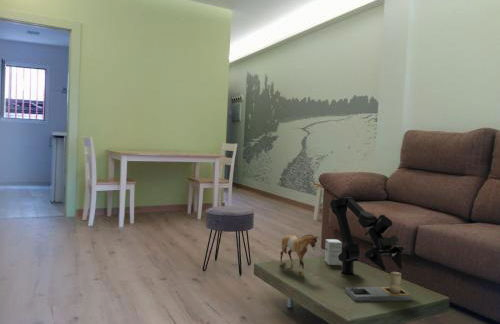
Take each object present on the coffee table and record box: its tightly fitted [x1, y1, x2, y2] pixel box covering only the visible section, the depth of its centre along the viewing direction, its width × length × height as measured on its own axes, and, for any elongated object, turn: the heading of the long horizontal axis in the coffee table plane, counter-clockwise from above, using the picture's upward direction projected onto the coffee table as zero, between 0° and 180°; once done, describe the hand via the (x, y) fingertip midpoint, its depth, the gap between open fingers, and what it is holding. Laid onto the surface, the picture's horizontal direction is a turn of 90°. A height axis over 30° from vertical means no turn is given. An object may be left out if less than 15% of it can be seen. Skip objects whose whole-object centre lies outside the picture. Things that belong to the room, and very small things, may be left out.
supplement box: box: [324, 238, 343, 266], centre depth 222 cm, size 7×7×13 cm
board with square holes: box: [344, 286, 412, 302], centre depth 174 cm, size 25×11×2 cm, turn 98°
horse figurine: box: [279, 234, 319, 277], centre depth 207 cm, size 31×8×21 cm, turn 25°
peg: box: [389, 271, 402, 294], centre depth 175 cm, size 4×4×10 cm
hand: (393, 269), depth 176 cm, fingers open, 9 cm apart
